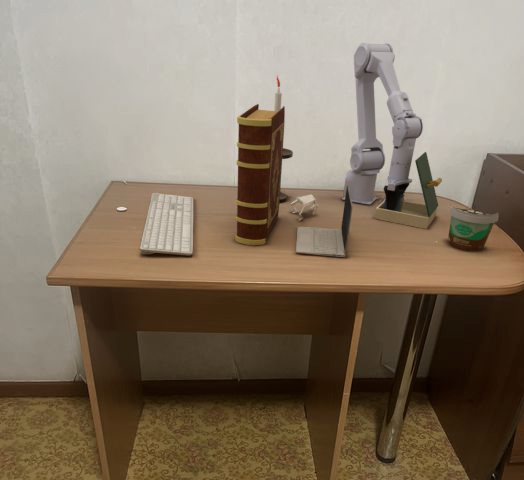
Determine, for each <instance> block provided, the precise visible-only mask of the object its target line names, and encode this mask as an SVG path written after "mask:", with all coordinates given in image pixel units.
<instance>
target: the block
mask: <svg viewBox="0 0 524 480" xmlns="http://www.w3.org/2000/svg"><path fill="white" fill-rule="evenodd" d="M404 199H405V194H401V195H400V197H399V199H398V202H397V205H396V208H395V210H394V211H397V212H401V210H402V205H403V201H405V200H404ZM384 200H385V203H384V209H387V207H386V197H385V198H384Z"/></svg>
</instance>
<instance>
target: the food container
mask: <svg viewBox="0 0 524 480" xmlns="http://www.w3.org/2000/svg"><path fill="white" fill-rule="evenodd" d="M454 205H455V203H453V204H452V205H451V207H450V209H449V212H448V213H449V215H450V221H449V222H450V223H449V230H448V237H447V244H448V245H449V246H451V247H452V248H454V249H457V250H461V251H465V252H479V251H482V250H483V249H484V248H485V246H486V243H487V241H488V238H489V236H490V234H491V232H492V229H493V227H494V224H495V223H497V222H498V221H499V212H496V213H493V214H492V213H486V212H483V211H480V210H476V209H467V208H459V207H455V206H454Z"/></svg>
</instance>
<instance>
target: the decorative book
mask: <svg viewBox="0 0 524 480" xmlns="http://www.w3.org/2000/svg"><path fill="white" fill-rule="evenodd" d="M259 105H260V104H259V103H257V104H255V105H253V106H252V107H250V108H248V109H247V110H246V111H245V112H243V113H242V114H240V115H238V116H237V117H236V123H237V124H238V135H237V136H238V137H237V138H238V139H237V142H236V147H237V160H236V165H237V193H236V194H237V197H236V199H235V205H236V216H235V221H236V234H235V236H234V238H235V239H234V240H235V242H237V243H239V244H242V245H247V246H263V245H265V244H266V242H267V240H268V238H269V237H270V235H271V233H272V231H273V229H274V228H275V226H276V224H277V221H278V218H279V214H280V213H279V212H280V203H281V202H280V192H281V186H282V185H281V184H282V170H283V169H282V168H283V159H282V155H283V148H284V139H285V136H284V135H285V119H286V118H285V117H286V116H285V115H286V113H285V111H286V109H285V108H286V107H285V105H283V106H281V110H279V111H274V110H267V109H266V110H265V109H260V108H259V107H260V106H259Z"/></svg>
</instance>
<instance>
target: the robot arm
mask: <svg viewBox="0 0 524 480" xmlns="http://www.w3.org/2000/svg"><path fill="white" fill-rule="evenodd" d="M395 57H396V55H395V53H394V48H393V46H392V45H391V44H390V43H366V42H362V43H360V44H358V46H357V48H356V50H355V52H354V54H353V66H354V67H353V69H354V78H355V81H354V82H355V98H356V99H355V100H356V116H357V117H356V118H357V120H356V121H357V136H358V137H357V139H358V140H357V141H356V142H355V144H354V145H352V147H351V148H350V149H351V150H350V152H351V153H350V158H349V165H350V168H351V169H349V170H348V171H347V173H346V175H345V179H344V186H343V194H342V198H341V200H342V201H345V196H346V189H347V185H348V187H349V192H350V197H351V202H352V203H357V204H363V205H367V206H368V205H369V206H371V205H372V204H373V203H374V202H375V201H376V200H377V199H378V197H377V196H374V195H375V189H376V184H377V177H378V174H379V173H380V171H381V170H382V169H383V168H384V166H385V164H386V155H385V154H386V153H385V152H384V145H383V143H382V142H381V141H380V140H379V139H378V138H377V127H376V125H377V123H376V104H375V81H376V80H377V79H378V78H379V79H380V81H381V83H382V86H383V88H384V90H385V93H386V94H387V96H388V98H387V100H386V106H387V109H388V111H389V114H390V117H391V120H392V122H393V126H392V127H391V134H392V145H393V147H392V153H391V159H390V160H391V161H390V166H389V171H388V176H387V178H386V179H387V182H388V183H387V185H384V186H383V192H384V195H385V198H386V207H387V210H392V211H394V210H395V208H396V205H397V202H398V199H399V197H400V195H401V194H403V195H405V192H406V190H407V188H408V187H409V186H410V184H411V183H412V182H413V179H412V178H409V176H410V171H411V167H412V163H413V162H412V161H413V157H414V153H415V147H416V141H417V139H419V138H420V136H421V135H422V133H423V130H424V124H423V119H422V118H421V117H420V116H418V115H417V114H416V113H414V110H413V107H412V105H411V102H410V100H409V96H408V94H407V93H406V92H405V91H401V88H400V84H399V81H398V77H397V72H396V69H395V66H394V62H395Z"/></svg>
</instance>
